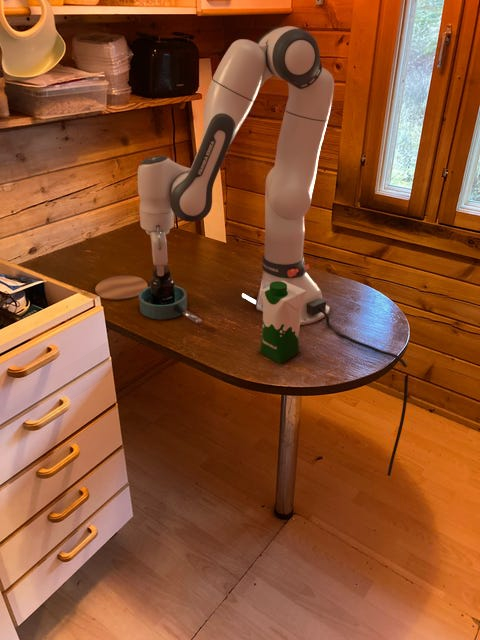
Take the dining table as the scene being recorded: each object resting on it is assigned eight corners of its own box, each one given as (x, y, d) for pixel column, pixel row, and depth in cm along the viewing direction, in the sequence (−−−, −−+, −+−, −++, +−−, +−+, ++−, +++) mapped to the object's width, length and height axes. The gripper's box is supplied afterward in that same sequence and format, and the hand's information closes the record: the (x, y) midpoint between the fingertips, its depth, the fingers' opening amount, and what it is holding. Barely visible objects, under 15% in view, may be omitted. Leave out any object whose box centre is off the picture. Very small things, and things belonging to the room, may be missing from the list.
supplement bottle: (168, 315, 145) (165, 276, 139) (147, 310, 147) (143, 272, 141) (179, 304, 150) (177, 267, 144) (159, 300, 152) (156, 263, 146)
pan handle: (203, 325, 137) (203, 319, 136) (197, 328, 135) (197, 321, 134) (177, 308, 144) (177, 302, 143) (172, 310, 143) (171, 304, 142)
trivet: (157, 289, 159) (157, 288, 158) (111, 305, 150) (110, 303, 149) (131, 272, 169) (131, 271, 169) (86, 286, 160) (86, 284, 160)
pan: (196, 310, 148) (195, 296, 146) (156, 325, 140) (155, 311, 138) (170, 293, 157) (169, 280, 155) (131, 306, 149) (129, 293, 147)
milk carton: (254, 352, 130) (257, 281, 120) (278, 339, 135) (283, 270, 125) (280, 367, 124) (285, 294, 114) (304, 353, 130) (311, 282, 120)
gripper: (171, 233, 127) (173, 283, 134) (166, 207, 144) (168, 252, 151) (146, 234, 126) (149, 284, 133) (143, 207, 143) (146, 253, 150)
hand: (159, 267), depth 142 cm, fingers open, 8 cm apart
